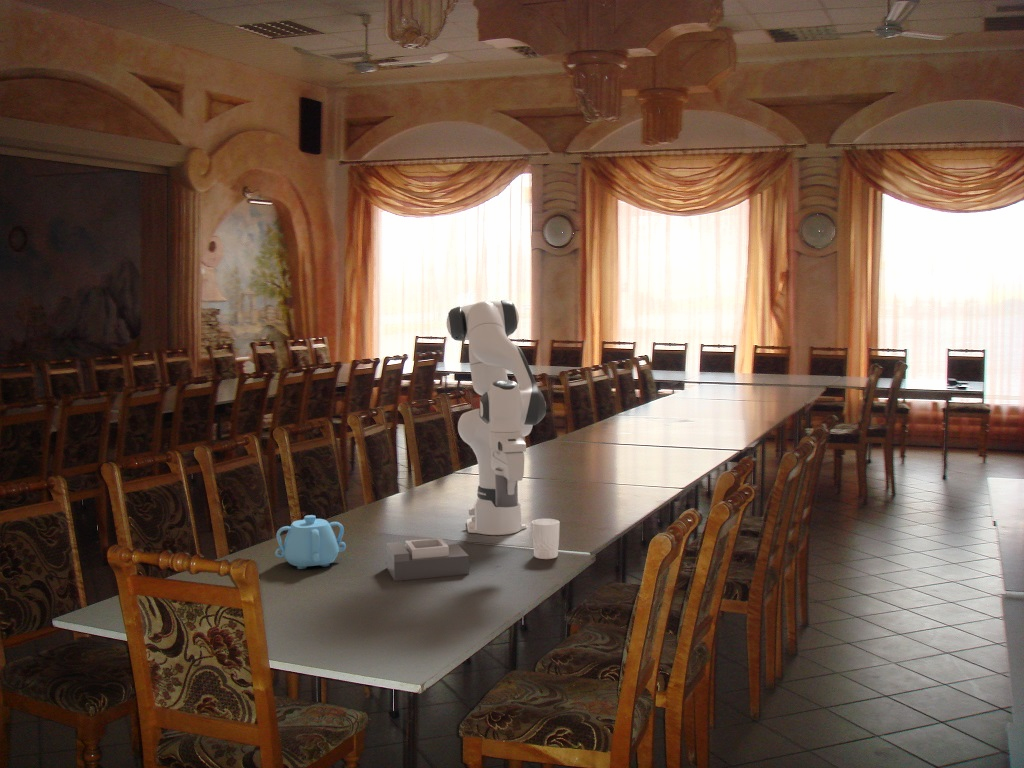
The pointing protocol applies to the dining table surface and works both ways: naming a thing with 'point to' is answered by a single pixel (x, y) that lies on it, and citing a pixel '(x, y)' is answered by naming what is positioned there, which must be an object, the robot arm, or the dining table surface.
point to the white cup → (545, 538)
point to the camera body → (425, 559)
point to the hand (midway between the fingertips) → (506, 491)
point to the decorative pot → (310, 542)
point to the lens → (504, 491)
